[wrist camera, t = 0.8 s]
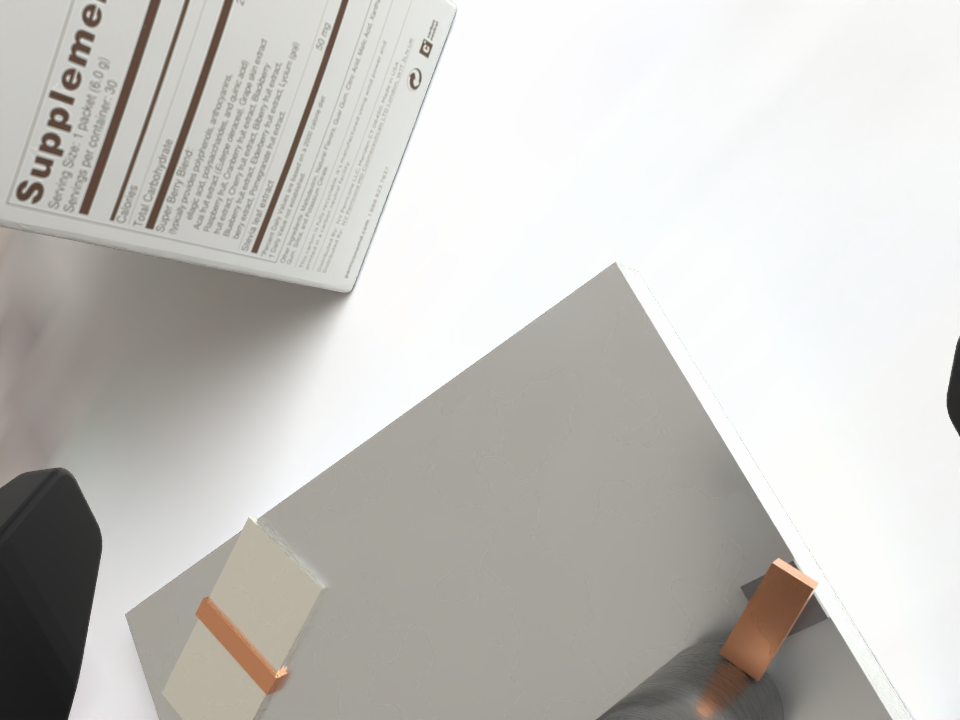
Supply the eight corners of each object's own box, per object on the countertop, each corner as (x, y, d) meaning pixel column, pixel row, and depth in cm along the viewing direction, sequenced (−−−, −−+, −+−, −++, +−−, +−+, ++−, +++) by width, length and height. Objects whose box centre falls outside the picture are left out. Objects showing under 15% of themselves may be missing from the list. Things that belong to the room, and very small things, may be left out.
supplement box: (167, 206, 29) (-483, 35, 16) (255, -54, 27) (-381, -471, 15) (353, 305, 25) (-333, 182, 12) (470, 3, 23) (-166, -520, 10)
